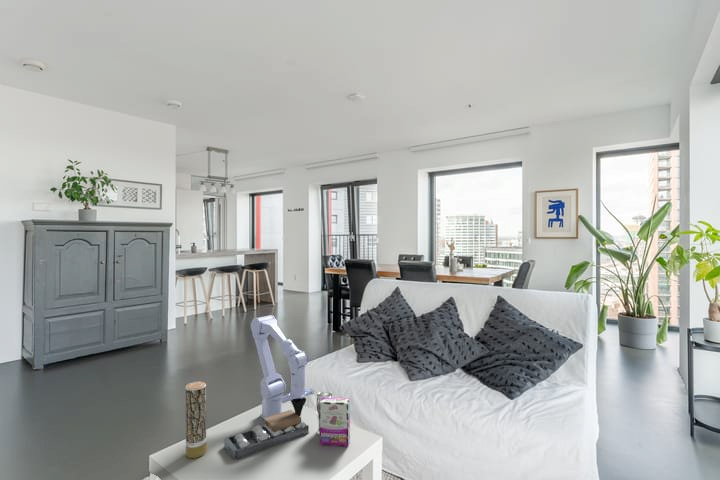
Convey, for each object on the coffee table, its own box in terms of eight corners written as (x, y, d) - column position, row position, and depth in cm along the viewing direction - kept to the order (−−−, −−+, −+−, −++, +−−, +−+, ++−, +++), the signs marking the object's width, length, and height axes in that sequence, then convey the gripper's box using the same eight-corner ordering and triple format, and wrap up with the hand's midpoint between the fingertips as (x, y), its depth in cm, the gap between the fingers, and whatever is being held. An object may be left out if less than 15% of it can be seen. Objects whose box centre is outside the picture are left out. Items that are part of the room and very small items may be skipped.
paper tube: (198, 460, 131) (198, 389, 131) (181, 458, 132) (181, 388, 132) (210, 449, 138) (210, 382, 138) (193, 447, 139) (193, 380, 139)
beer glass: (334, 428, 153) (334, 391, 153) (331, 437, 147) (331, 399, 146) (317, 427, 154) (317, 391, 154) (314, 436, 147) (314, 398, 147)
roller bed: (223, 446, 140) (223, 434, 140) (294, 422, 158) (294, 411, 158) (234, 460, 131) (234, 448, 131) (308, 433, 150) (308, 422, 150)
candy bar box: (350, 440, 144) (350, 397, 144) (348, 447, 139) (348, 403, 139) (322, 438, 146) (322, 396, 146) (319, 445, 141) (319, 402, 141)
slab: (264, 423, 148) (264, 418, 148) (291, 414, 156) (291, 409, 156) (273, 432, 142) (273, 426, 142) (301, 422, 149) (301, 417, 149)
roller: (237, 446, 141) (230, 440, 140) (245, 438, 143) (239, 431, 142) (244, 456, 135) (238, 450, 133) (253, 447, 137) (247, 440, 135)
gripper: (286, 390, 145) (286, 424, 145) (318, 381, 154) (318, 413, 154) (278, 384, 151) (278, 418, 151) (309, 376, 160) (309, 407, 160)
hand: (298, 415), depth 153 cm, fingers closed
